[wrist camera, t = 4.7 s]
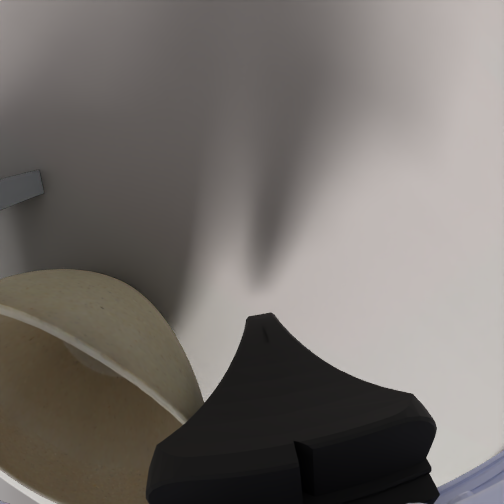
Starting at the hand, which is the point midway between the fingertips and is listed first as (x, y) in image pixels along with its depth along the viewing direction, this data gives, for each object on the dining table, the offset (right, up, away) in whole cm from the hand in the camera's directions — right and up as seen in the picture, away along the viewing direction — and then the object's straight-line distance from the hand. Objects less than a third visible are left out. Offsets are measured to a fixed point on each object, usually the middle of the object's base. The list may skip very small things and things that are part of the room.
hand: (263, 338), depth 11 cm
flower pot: (-7, 0, +2) cm, 7 cm away
